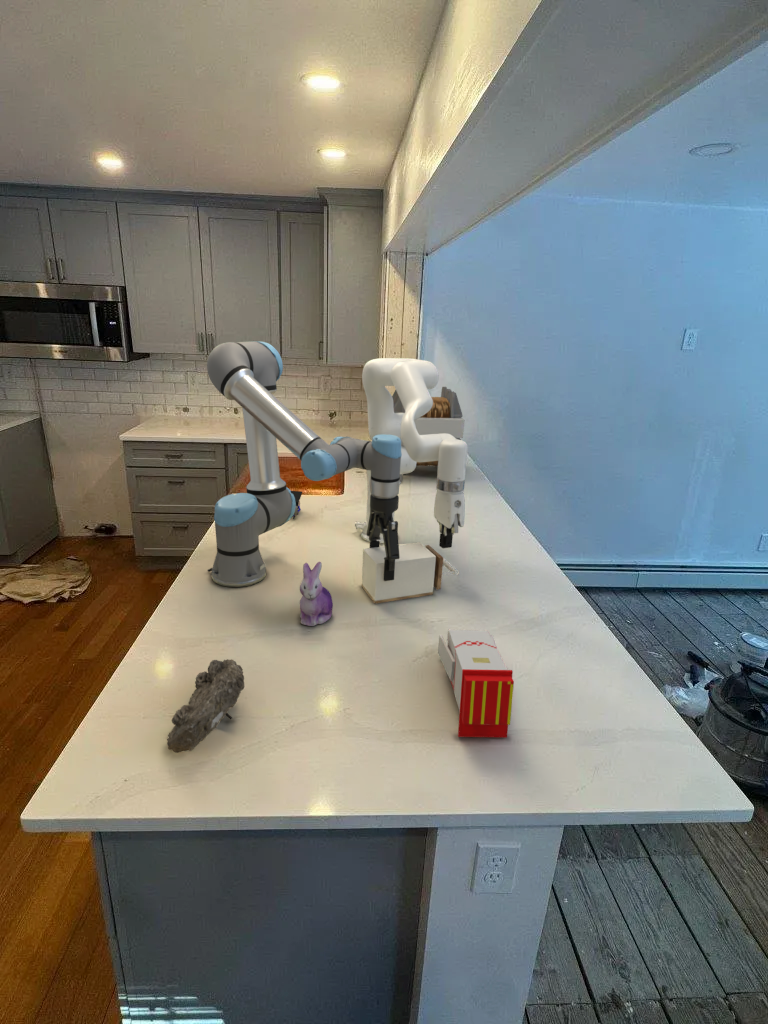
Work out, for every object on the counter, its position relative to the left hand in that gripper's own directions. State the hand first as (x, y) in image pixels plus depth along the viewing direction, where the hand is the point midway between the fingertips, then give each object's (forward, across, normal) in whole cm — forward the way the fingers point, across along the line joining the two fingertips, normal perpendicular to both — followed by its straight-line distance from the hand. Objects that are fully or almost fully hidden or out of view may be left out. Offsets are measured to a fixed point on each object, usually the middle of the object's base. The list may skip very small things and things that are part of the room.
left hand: (381, 571), depth 156 cm
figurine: (+7, -8, +21) cm, 23 cm away
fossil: (+7, -37, +49) cm, 62 cm away
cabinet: (+7, 0, -5) cm, 8 cm away
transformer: (+7, +108, -63) cm, 126 cm away
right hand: (-5, 0, -19) cm, 20 cm away
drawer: (+6, 0, -11) cm, 13 cm away
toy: (+7, -46, -2) cm, 47 cm away
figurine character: (+7, +68, +9) cm, 69 cm away
